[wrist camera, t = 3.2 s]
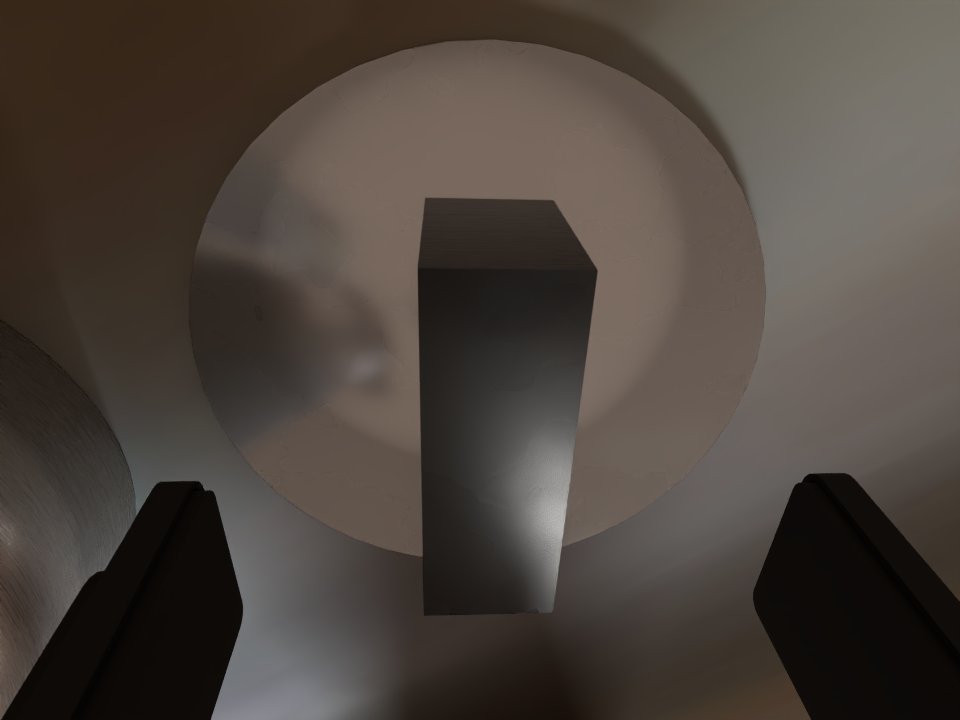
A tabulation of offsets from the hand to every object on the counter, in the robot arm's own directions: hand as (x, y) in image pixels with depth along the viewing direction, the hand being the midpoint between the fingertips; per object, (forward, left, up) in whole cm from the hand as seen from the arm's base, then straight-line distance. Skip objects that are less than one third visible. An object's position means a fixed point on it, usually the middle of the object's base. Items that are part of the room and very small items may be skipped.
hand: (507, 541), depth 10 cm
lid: (0, +1, -9) cm, 9 cm away
